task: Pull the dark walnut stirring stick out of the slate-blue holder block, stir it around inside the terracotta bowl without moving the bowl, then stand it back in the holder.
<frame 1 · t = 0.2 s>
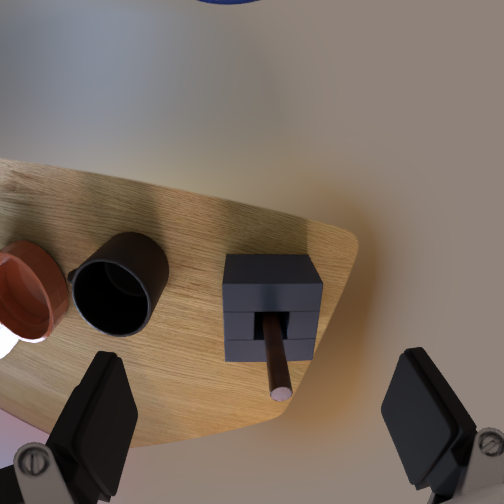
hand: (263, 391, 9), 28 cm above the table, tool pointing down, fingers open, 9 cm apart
stick: (272, 331, 32), in the holder
bowl: (33, 283, 39), on the table
holder: (266, 291, 40), on the table
mug: (125, 264, 38), on the table
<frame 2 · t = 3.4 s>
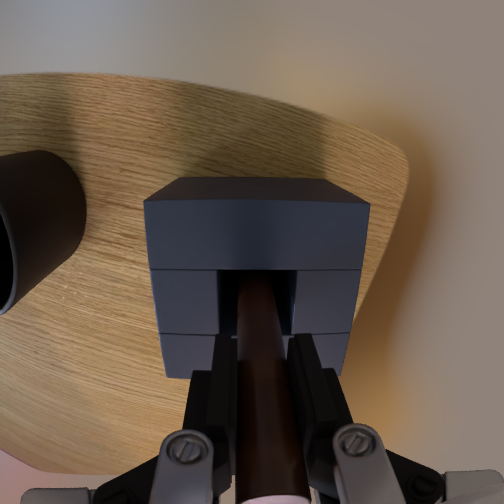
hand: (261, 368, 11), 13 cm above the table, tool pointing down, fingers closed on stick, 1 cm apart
stick: (257, 315, 14), in the holder, touching gripper
holder: (251, 247, 22), on the table
mug: (30, 206, 21), on the table
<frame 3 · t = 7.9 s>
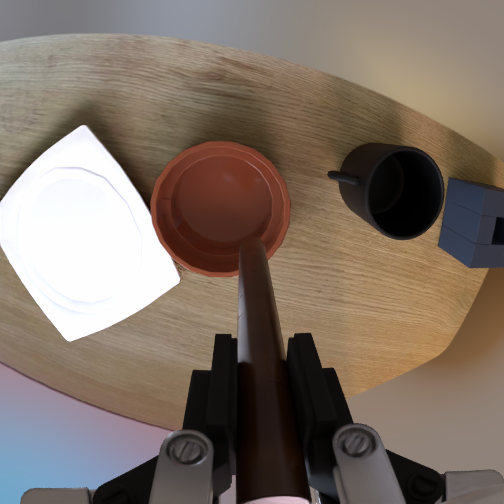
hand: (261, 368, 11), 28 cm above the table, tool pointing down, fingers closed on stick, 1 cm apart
stick: (257, 317, 14), point 24 cm above the table, touching gripper
bowl: (222, 201, 36), on the table
holder: (468, 214, 38), on the table
mug: (363, 178, 36), on the table
plate: (77, 240, 38), on the table
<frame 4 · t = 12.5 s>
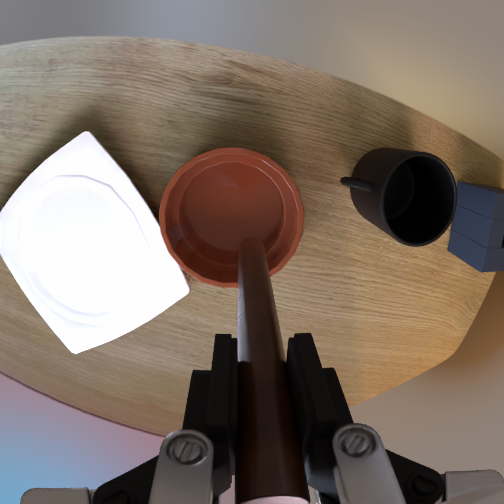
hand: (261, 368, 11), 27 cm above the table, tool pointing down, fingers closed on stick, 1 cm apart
stick: (257, 317, 14), point 23 cm above the table, touching gripper
bowl: (232, 209, 36), on the table
holder: (476, 218, 37), on the table
mug: (374, 183, 35), on the table
plate: (81, 251, 37), on the table
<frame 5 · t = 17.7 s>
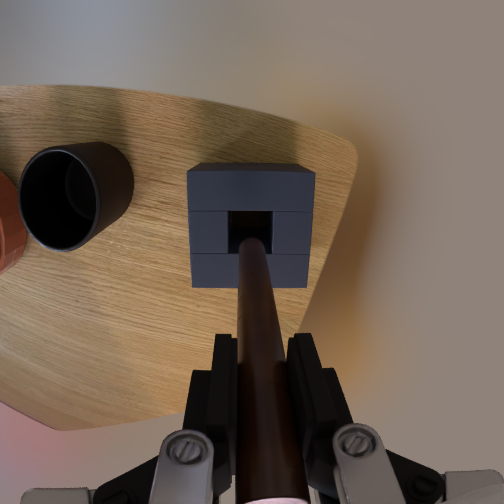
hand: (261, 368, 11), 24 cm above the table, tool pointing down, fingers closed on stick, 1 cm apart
stick: (257, 318, 14), point 20 cm above the table, touching gripper
holder: (248, 210, 33), on the table
mug: (88, 183, 31), on the table
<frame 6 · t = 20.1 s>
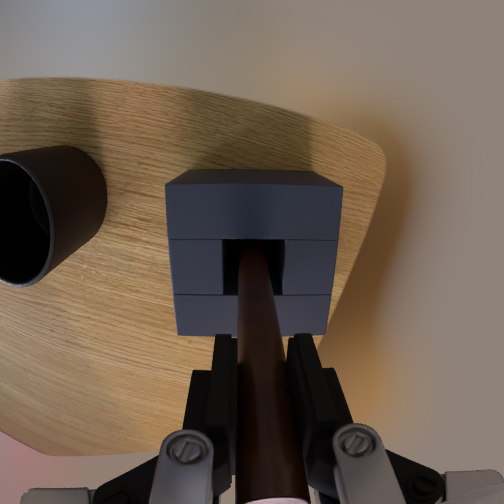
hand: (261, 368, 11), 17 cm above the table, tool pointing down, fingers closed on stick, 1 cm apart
stick: (257, 318, 14), point 13 cm above the table, touching gripper
holder: (250, 229, 26), on the table
mug: (55, 195, 24), on the table
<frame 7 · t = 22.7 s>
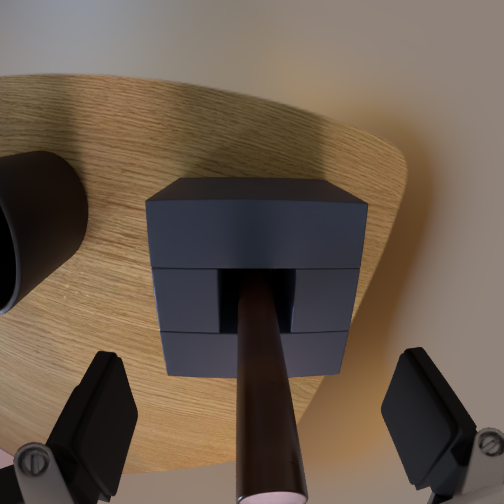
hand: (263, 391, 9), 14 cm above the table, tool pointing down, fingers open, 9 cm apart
stick: (257, 319, 14), in the holder
holder: (251, 247, 23), on the table
mug: (32, 206, 21), on the table
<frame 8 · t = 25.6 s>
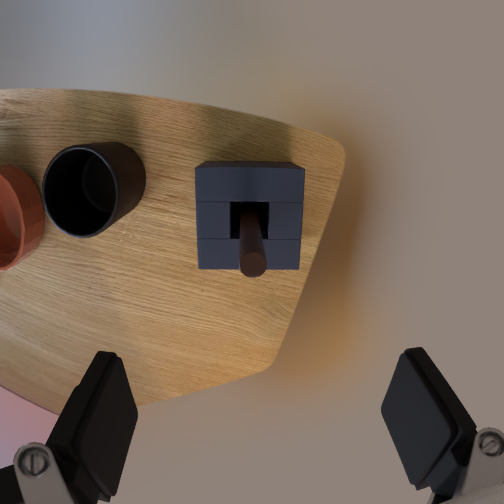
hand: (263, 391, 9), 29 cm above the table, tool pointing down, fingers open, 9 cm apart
stick: (249, 226, 29), in the holder
bowl: (12, 211, 36), on the table
holder: (248, 203, 37), on the table
mug: (103, 178, 35), on the table
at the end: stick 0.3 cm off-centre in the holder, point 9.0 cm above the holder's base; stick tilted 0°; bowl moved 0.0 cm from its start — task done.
